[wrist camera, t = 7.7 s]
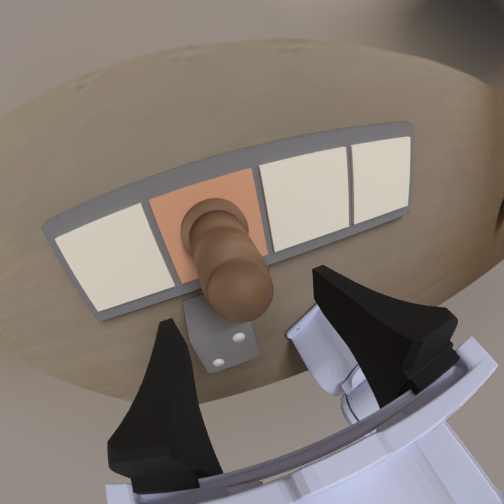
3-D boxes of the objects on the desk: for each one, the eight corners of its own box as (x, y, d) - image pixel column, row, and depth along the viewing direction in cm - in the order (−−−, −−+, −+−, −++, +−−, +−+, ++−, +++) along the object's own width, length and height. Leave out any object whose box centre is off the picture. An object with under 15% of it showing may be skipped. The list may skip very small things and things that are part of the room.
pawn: (217, 267, 22) (251, 354, 15) (167, 236, 19) (178, 326, 12) (257, 222, 21) (314, 295, 14) (209, 184, 18) (248, 249, 11)
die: (199, 335, 27) (209, 374, 23) (182, 301, 24) (190, 342, 20) (245, 319, 28) (261, 357, 24) (234, 283, 25) (251, 322, 21)
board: (99, 314, 22) (98, 324, 21) (45, 221, 17) (39, 228, 15) (403, 209, 27) (411, 214, 26) (405, 121, 22) (415, 123, 20)
